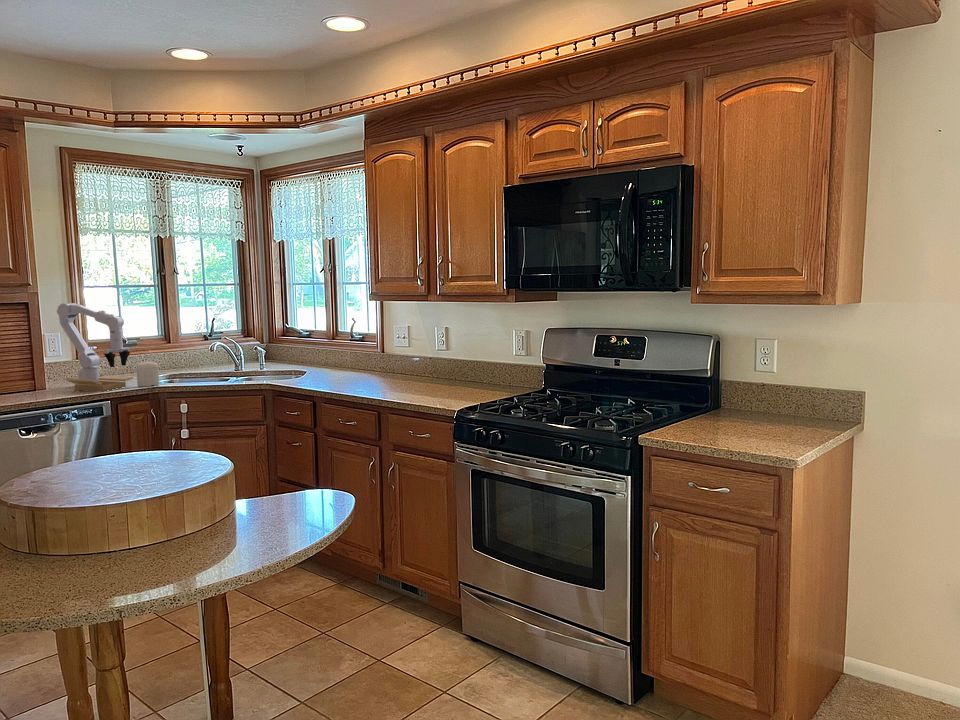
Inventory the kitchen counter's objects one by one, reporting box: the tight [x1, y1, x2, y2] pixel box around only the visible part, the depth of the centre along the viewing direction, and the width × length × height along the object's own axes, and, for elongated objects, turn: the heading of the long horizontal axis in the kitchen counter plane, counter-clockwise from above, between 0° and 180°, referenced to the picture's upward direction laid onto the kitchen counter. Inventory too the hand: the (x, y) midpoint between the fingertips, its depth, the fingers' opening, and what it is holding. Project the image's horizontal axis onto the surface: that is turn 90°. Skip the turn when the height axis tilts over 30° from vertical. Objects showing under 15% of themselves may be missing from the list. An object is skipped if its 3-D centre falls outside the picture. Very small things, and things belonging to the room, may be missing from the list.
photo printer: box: [136, 361, 160, 387], centre depth 376 cm, size 10×4×12 cm, turn 123°
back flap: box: [98, 374, 134, 382], centre depth 375 cm, size 17×6×1 cm, turn 71°
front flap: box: [65, 377, 102, 385], centre depth 356 cm, size 17×6×1 cm, turn 71°
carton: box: [73, 380, 127, 392], centre depth 366 cm, size 18×14×3 cm
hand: (117, 366), depth 378 cm, fingers open, 7 cm apart
